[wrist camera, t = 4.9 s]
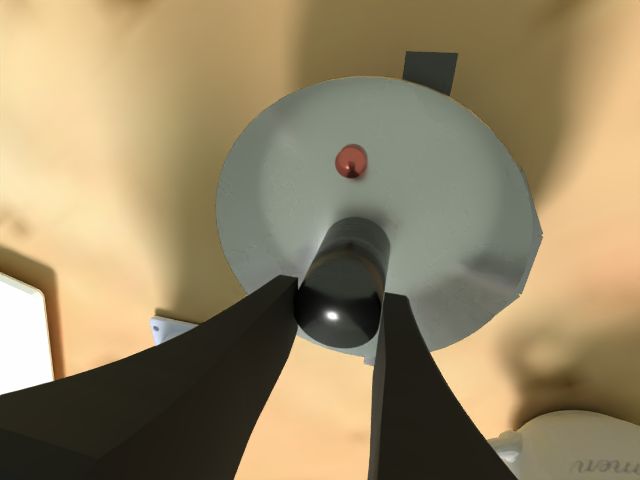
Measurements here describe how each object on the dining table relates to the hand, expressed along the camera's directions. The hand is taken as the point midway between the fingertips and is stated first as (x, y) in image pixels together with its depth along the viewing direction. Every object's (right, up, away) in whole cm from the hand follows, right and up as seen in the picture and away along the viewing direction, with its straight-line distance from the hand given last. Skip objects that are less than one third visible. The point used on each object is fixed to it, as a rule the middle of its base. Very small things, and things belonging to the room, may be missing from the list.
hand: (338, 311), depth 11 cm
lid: (+1, +2, +3) cm, 4 cm away
